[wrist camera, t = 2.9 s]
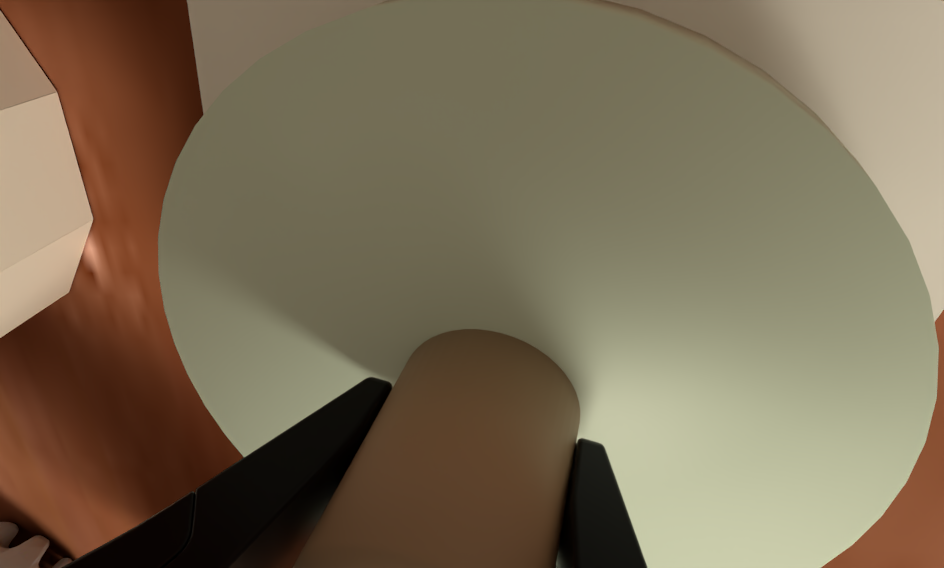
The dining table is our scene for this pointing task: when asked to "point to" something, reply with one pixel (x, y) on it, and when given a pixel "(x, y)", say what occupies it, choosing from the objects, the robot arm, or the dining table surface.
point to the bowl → (35, 189)
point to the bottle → (23, 549)
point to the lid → (550, 287)
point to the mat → (756, 40)
